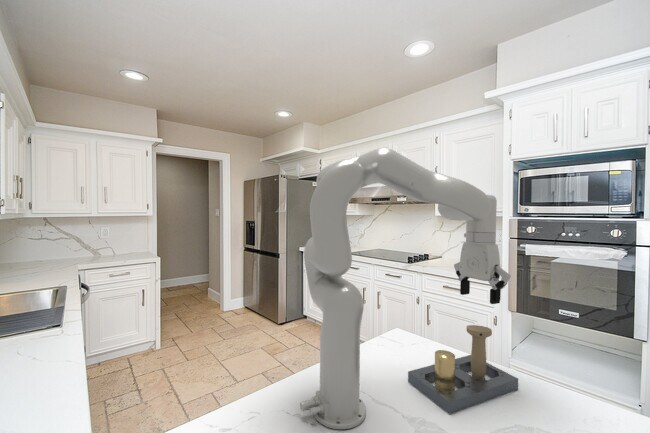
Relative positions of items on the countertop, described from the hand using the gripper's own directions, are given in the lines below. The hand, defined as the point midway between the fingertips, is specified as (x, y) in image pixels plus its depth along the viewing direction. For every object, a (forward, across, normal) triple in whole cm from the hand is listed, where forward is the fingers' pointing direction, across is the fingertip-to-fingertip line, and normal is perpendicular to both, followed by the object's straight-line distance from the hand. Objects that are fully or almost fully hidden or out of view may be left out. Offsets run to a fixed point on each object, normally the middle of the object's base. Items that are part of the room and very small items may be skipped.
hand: (479, 298), depth 86 cm
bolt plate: (+24, 0, -6) cm, 24 cm away
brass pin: (+24, 0, -12) cm, 27 cm away
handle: (+24, 0, 0) cm, 24 cm away
